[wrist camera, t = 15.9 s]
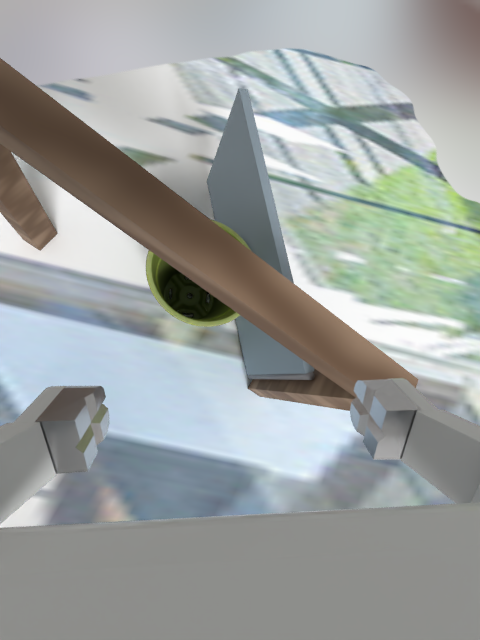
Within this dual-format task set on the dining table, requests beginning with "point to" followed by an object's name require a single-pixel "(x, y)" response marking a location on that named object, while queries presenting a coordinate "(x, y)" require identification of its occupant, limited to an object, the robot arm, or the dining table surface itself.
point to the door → (252, 231)
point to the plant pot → (187, 292)
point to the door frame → (175, 242)
